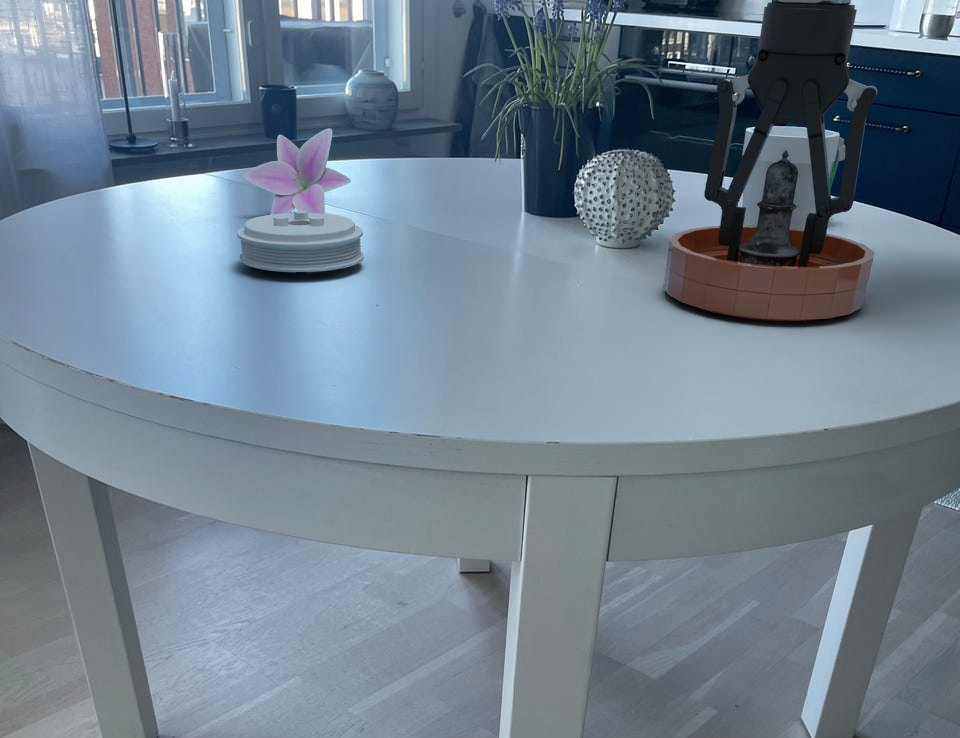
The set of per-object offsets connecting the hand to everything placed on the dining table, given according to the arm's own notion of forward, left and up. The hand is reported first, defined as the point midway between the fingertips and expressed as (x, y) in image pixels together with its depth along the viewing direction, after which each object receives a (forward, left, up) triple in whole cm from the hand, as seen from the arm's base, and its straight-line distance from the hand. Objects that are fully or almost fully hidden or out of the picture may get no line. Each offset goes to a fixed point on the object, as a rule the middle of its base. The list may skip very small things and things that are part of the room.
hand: (763, 284), depth 97 cm
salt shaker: (0, 0, 0) cm, 0 cm away
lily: (+58, -15, -2) cm, 60 cm away
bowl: (0, 0, -1) cm, 1 cm away
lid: (+46, +7, -2) cm, 47 cm away
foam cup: (+1, -16, -2) cm, 16 cm away
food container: (+1, -43, -2) cm, 43 cm away
